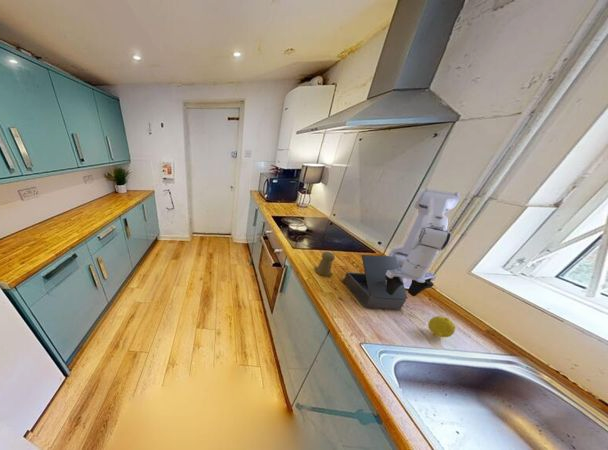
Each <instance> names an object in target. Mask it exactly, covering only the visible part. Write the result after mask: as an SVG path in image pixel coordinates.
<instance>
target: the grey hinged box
mask: <svg viewBox="0 0 608 450" xmlns="http://www.w3.org/2000/svg"><path fill="white" fill-rule="evenodd" d="M342 282H343V283H344V284H345V286H346V287H347V288H348V289H349V290H350V292H351V293H352V294H353V295H354V296H355V297H356V299H357V300H358V301H359V302H360V304H361V305H362V306H363V307H364V308H366V309H378V310H379V309H380V310H391V311H392V310H395V311H401V309H402V308H403V306H404V305H405V304H406V301H407V299H395V298H380V297H370V295H369V290H368V286H367V281H366V276H365V272H364V273H363V272H346V273H345V275H344V278H343V281H342Z"/></svg>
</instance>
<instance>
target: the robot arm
mask: <svg viewBox="0 0 608 450" xmlns="http://www.w3.org/2000/svg"><path fill="white" fill-rule="evenodd" d="M460 198H461V194H460V193H459V192H457V191H456V192H452V191H446V190H438V189H430V188H426V187H423V188H422V189H420V191H419V193H418V194H417V197H416V200H415V201H414V203H413V208H415V209H417V210H418V211H417V214H416V215H417V216H416V218H415V219H414V222H413V224H412V226H411V228H410V230H409V232H408V235H407V236H406V238H405V240H404V242H403V244H402V245H396V246H393V247H392V248H391V250H390V252H389V254H388V256H392V257H397V261H398V264H399V269H394V270H387V272H386V273H385V277H386V281H387V287H386V292H387V293H389V294H390V295H393V294H394V293H395V291H396V290H397V289H398V287H400V286H401V285H403V284H404V287H405V290H407V293H408V295H410V296H412V297H416V296H418V295H419V294H420V293H421V292H423V291H424V290H426V289H428V288H432V287H433V286H434V285H435V283H434V281H435V280H436V278H437V277H438V276H437V275H436V274H434V273H433V272H429V269H430V268H431V267H432V265H433V263H434V261H435V259H436V258H437V256H438V255H439V253H440V250H441V251H444V250H445V249H446V248H447V246H448V245H449V243H450V241H451V238H452V232H451V231H450V230H449V229H448V226H449V218H448V217H447V216H446V215H445V213H448V212H450V211H451V210H452V209H454V208H455V207H456V206H457V204H458V202H459V201H460ZM399 278H402V280H403V283H402V282H401V281H400V279H399Z"/></svg>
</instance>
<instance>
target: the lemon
mask: <svg viewBox="0 0 608 450" xmlns="http://www.w3.org/2000/svg"><path fill="white" fill-rule="evenodd" d="M427 326H428V327H427V328H428V330H429V331H430V332H431V333H432V334H433V335H434V336H436V337H440V338H449V337H451V336H453V335H454V334H455V331H456V325H455V324H454V322H453V321H452V320H451V319H449V318H448V317H445V316H440V315H439V316H438V315H437V316H434V317H432V318H430V320H429V321H428V324H427Z"/></svg>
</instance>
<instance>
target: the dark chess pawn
mask: <svg viewBox="0 0 608 450" xmlns="http://www.w3.org/2000/svg"><path fill="white" fill-rule="evenodd" d="M335 259H336V256H335V254H334V253H333V252H331V251H324V252H323V253H322V254H321V260H320V262H319V264H318V265H317V268H316V269H315V272H316V273H317V274H318V275H320V276H324V277H329V276H330V275H331V269H332V263H333V261H334V260H335Z"/></svg>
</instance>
